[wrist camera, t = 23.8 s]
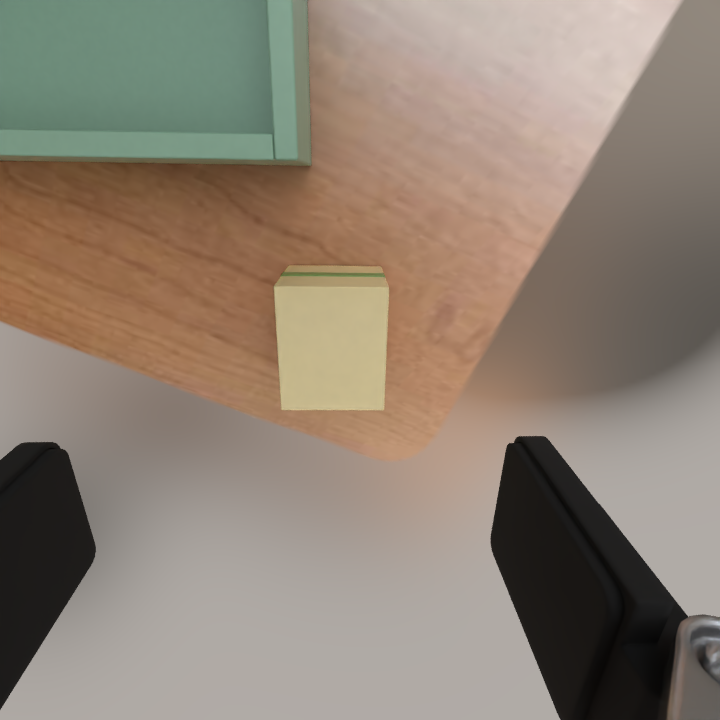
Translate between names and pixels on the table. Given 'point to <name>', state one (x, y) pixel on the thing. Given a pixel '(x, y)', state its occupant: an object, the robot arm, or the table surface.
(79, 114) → the box
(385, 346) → the yellow block
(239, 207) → the table surface
